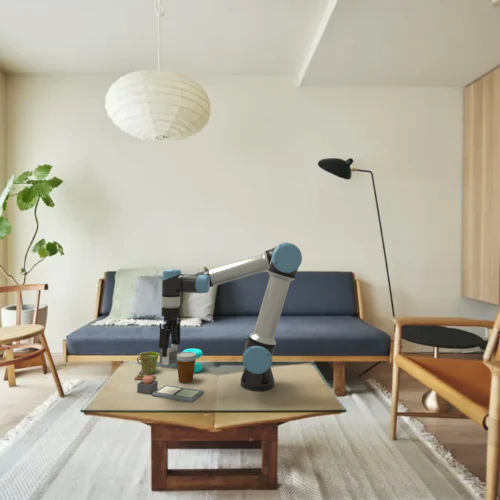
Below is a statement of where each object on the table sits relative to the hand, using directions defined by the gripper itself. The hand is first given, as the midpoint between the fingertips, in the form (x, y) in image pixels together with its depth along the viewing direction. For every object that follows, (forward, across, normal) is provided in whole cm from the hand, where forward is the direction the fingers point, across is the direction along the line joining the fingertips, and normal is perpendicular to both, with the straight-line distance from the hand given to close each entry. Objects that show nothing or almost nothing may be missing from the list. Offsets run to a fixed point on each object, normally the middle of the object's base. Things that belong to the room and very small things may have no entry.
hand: (169, 362), depth 163 cm
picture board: (+13, 0, +4) cm, 14 cm away
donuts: (+13, -30, -5) cm, 33 cm away
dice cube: (0, 0, -1) cm, 1 cm away
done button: (+11, +1, -10) cm, 14 cm away
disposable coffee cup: (+13, -16, -1) cm, 21 cm away
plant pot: (+13, -20, -23) cm, 33 cm away
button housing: (+13, +1, -10) cm, 16 cm away
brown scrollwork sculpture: (+13, -11, -19) cm, 25 cm away
